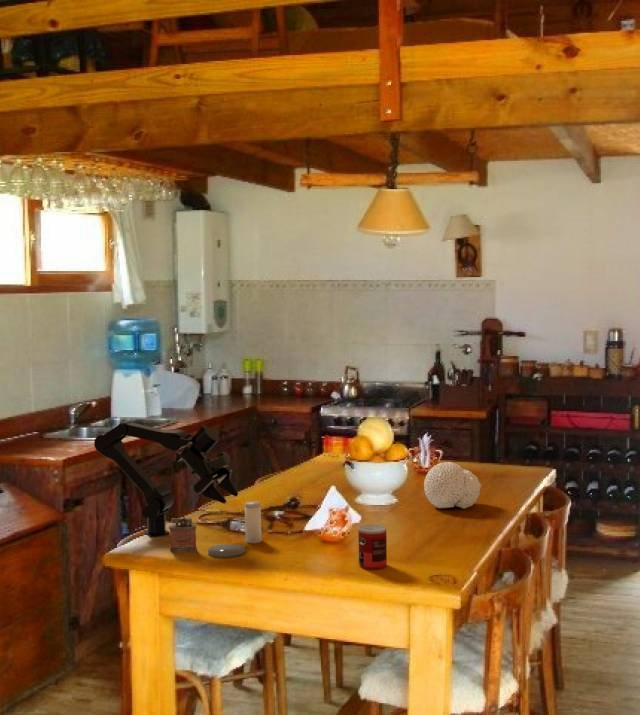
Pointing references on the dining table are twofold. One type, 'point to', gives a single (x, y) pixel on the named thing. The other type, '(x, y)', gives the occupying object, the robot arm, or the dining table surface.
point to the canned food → (372, 547)
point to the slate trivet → (226, 550)
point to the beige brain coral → (451, 486)
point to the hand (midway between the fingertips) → (231, 499)
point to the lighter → (182, 535)
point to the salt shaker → (252, 522)
